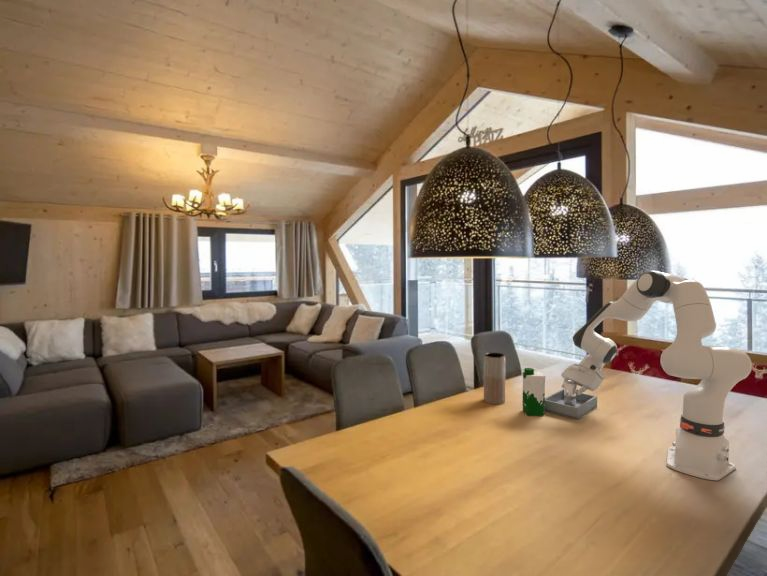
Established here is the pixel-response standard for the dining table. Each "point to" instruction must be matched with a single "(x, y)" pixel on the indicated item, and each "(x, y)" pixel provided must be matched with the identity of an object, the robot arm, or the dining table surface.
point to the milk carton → (533, 392)
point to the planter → (494, 378)
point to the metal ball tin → (570, 393)
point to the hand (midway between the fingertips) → (569, 390)
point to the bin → (557, 406)
